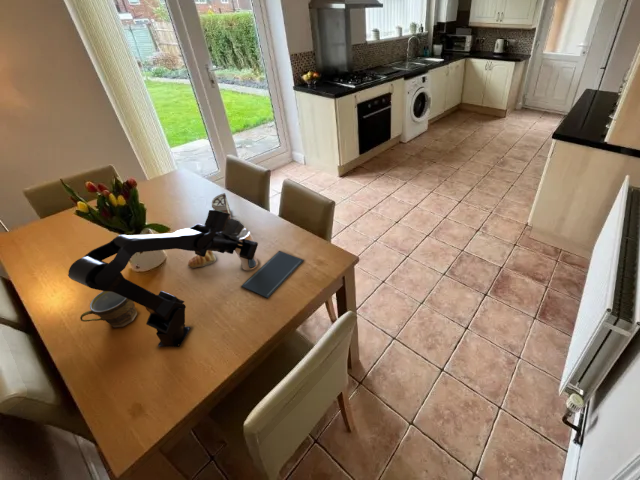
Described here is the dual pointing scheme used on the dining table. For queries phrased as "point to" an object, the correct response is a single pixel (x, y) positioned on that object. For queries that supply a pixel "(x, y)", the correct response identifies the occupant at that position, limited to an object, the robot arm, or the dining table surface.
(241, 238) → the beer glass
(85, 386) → the dining table surface
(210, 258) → the pastry
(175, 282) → the dining table surface
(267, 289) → the mat
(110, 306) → the ceramic cup
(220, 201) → the food container
